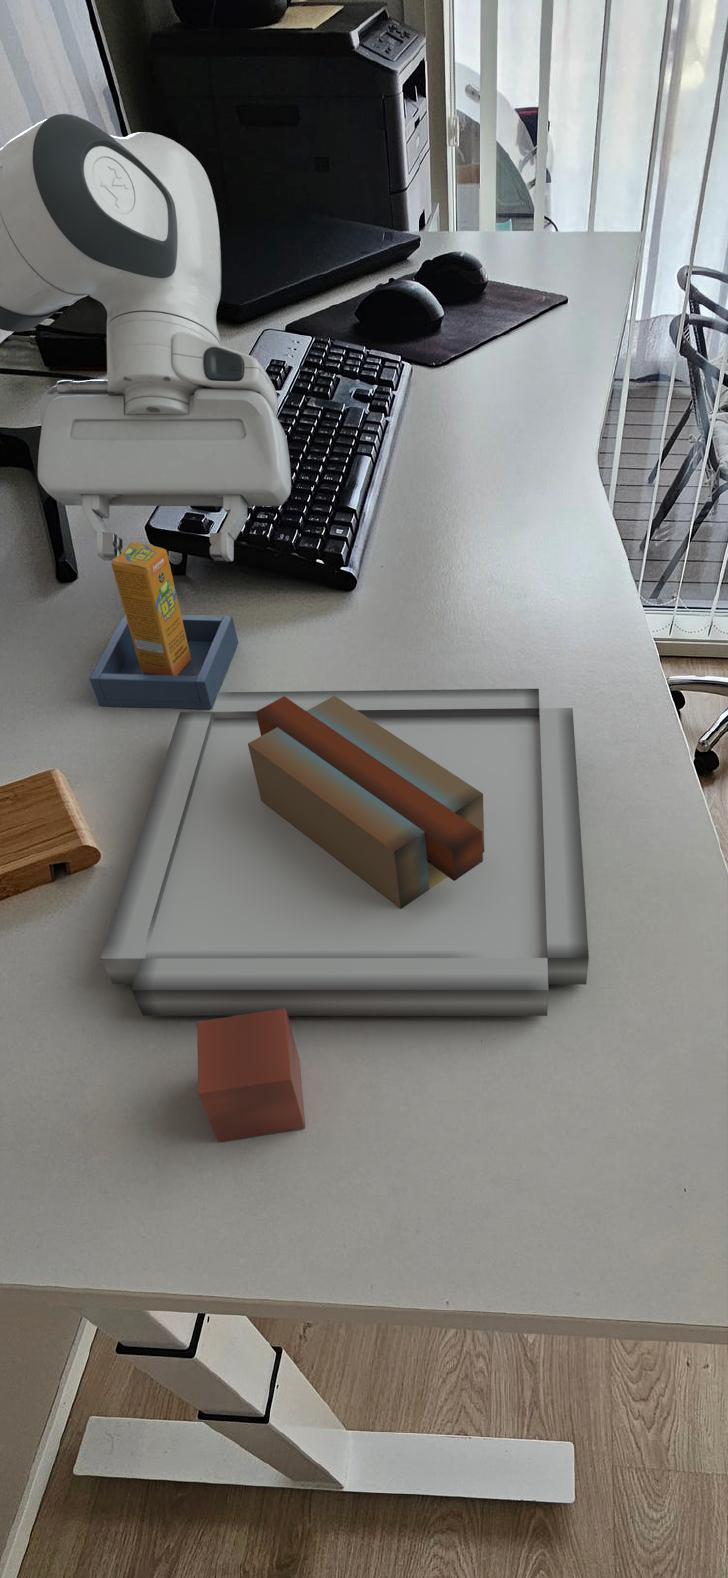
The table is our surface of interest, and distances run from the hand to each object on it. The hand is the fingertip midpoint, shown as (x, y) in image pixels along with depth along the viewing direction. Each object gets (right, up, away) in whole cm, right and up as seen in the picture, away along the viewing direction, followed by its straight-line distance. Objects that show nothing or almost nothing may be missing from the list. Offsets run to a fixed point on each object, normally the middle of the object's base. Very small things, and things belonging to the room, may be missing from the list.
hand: (165, 558), depth 85 cm
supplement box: (0, -8, +3) cm, 9 cm away
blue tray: (0, -9, +3) cm, 9 cm away
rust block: (+13, -42, -24) cm, 50 cm away
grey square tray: (+18, -26, -12) cm, 33 cm away
